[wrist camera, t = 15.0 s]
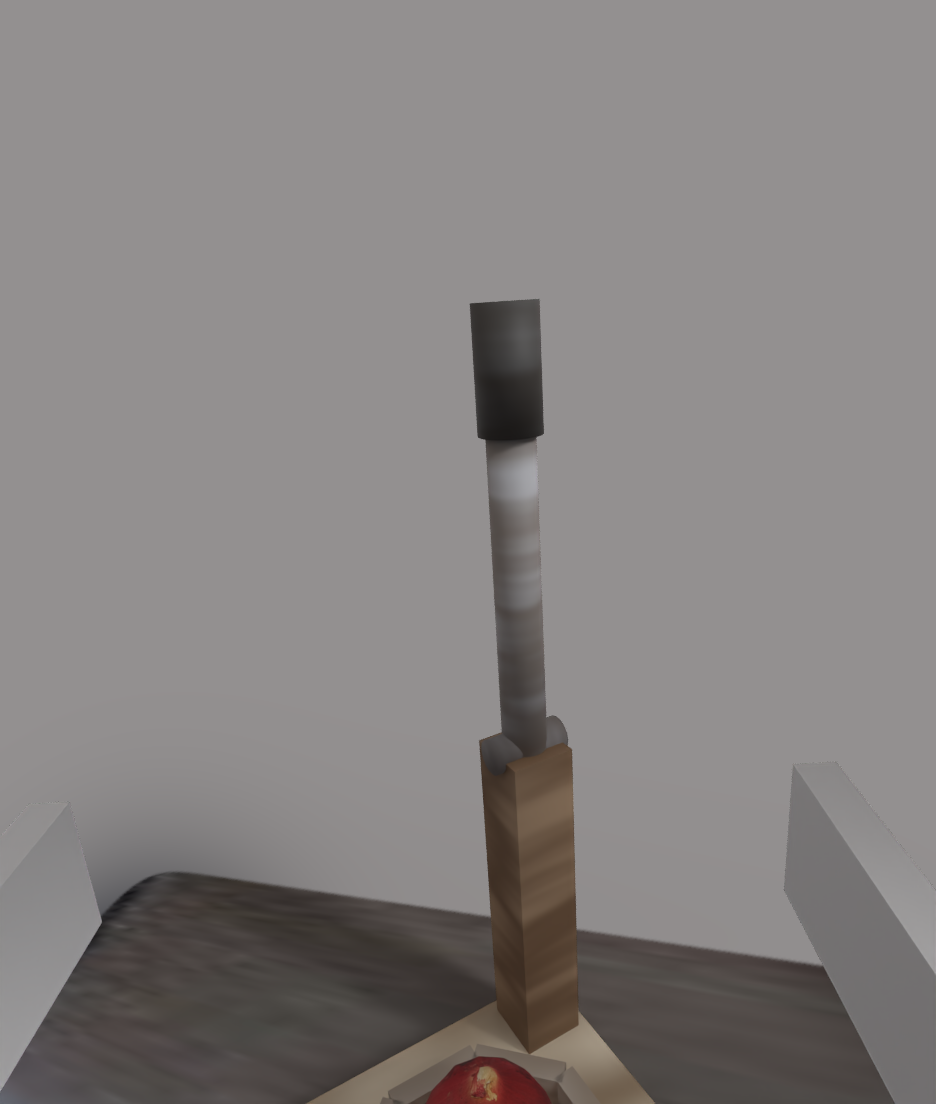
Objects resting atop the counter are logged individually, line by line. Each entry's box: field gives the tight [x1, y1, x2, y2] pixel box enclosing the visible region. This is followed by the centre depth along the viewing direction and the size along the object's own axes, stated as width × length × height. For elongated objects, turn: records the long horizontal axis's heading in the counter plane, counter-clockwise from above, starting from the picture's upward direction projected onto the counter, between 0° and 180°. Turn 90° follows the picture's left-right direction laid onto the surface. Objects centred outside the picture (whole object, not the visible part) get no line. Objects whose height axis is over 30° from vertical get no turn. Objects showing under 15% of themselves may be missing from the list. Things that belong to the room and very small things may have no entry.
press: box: [306, 299, 655, 1104], centre depth 28 cm, size 14×14×37 cm
